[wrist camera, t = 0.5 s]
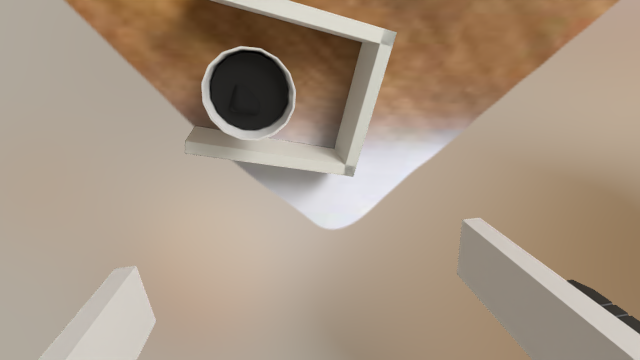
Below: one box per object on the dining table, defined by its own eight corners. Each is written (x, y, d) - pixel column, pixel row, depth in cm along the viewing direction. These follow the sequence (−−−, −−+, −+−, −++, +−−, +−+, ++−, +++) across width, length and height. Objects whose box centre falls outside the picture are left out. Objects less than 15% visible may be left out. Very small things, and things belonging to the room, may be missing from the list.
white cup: (275, 118, 32) (283, 149, 24) (211, 101, 30) (194, 129, 22) (291, 55, 30) (306, 63, 21) (223, 32, 28) (209, 31, 19)
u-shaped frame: (204, -17, 26) (194, -28, 22) (376, 32, 31) (396, 32, 26) (194, 136, 31) (184, 153, 27) (341, 159, 36) (353, 176, 32)
